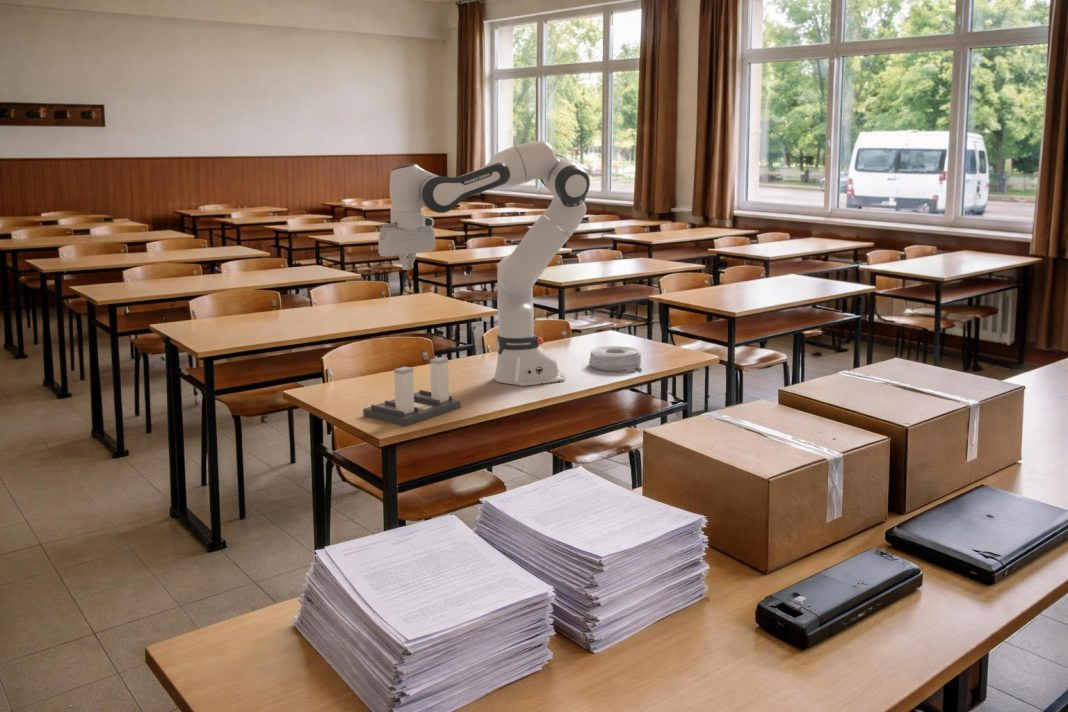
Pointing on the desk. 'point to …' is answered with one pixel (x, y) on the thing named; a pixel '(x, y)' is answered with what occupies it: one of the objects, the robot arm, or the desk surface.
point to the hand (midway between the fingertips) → (407, 269)
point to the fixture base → (422, 411)
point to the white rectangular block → (404, 389)
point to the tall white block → (439, 379)
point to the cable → (616, 358)
